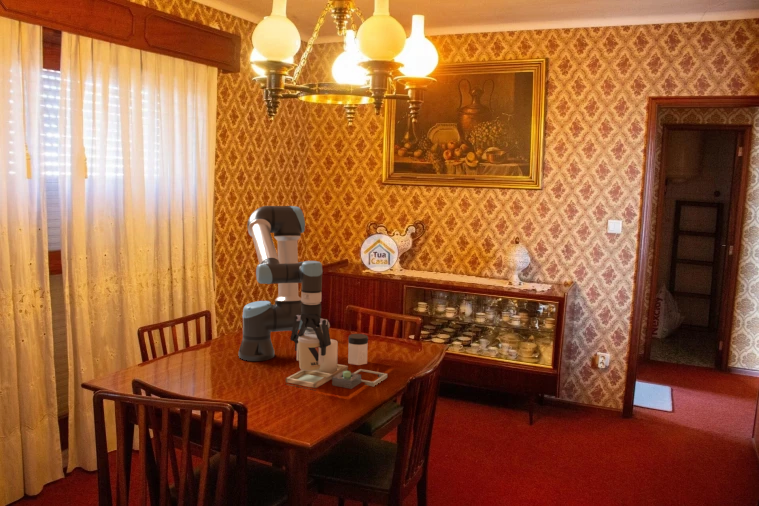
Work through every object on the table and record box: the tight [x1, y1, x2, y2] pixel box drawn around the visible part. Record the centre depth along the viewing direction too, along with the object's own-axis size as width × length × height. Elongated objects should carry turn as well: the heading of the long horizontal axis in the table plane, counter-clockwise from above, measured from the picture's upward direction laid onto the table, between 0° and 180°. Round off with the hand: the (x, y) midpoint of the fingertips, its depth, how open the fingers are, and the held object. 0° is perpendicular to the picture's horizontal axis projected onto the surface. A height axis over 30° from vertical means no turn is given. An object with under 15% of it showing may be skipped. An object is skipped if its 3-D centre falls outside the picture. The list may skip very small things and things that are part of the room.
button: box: [343, 370, 352, 378], centre depth 226 cm, size 3×3×4 cm
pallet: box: [285, 363, 349, 392], centre depth 235 cm, size 13×25×2 cm, turn 155°
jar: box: [347, 333, 369, 366], centre depth 253 cm, size 9×8×12 cm
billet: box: [316, 338, 339, 374], centre depth 239 cm, size 9×9×12 cm
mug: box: [304, 321, 331, 334], centre depth 289 cm, size 10×12×10 cm
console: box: [331, 371, 362, 390], centre depth 226 cm, size 8×8×4 cm
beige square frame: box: [353, 368, 388, 387], centre depth 235 cm, size 12×12×2 cm
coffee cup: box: [298, 334, 321, 371], centre depth 228 cm, size 9×9×12 cm
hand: (310, 361), depth 228 cm, fingers closed on coffee cup, 9 cm apart
